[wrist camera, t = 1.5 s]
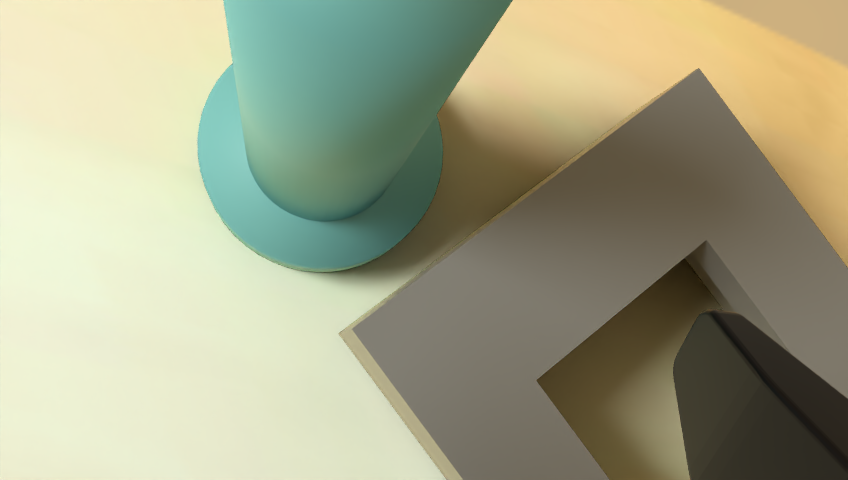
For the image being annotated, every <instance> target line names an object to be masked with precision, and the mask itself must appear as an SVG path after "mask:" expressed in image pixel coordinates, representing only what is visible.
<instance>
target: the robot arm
mask: <svg viewBox="0 0 848 480" xmlns="http://www.w3.org/2000/svg"><path fill="white" fill-rule="evenodd" d="M673 376H674V383H675V389H676V396H677V402H678V408H679V414H680V420H681V426H682V433H683V439H684V445H685V451H686V457H687V463H688V470H689V475H690V480H848V398H846V397H845V396H844V395H843V394H841V393H840V392H839V391H838V390H836V389H835V388H834V387H833V386H831V385H830V384H829V383H827V382H826V381H825V380H824V379H822V378H821V377H820V376H819V375H817V374H816V373H815V372H814V371H812V370H811V369H810V368H808V367H807V366H806V365H805V364H803V363H802V362H801V361H800V360H798V359H797V358H796V357H795V356H793V355H792V354H791V353H789V352H788V351H787V350H786V349H784V348H783V347H782V346H781V345H779V344H778V343H777V342H776V341H774V340H773V339H772V338H770V337H769V336H768V335H767V334H765V333H764V332H763V331H762V330H760V329H759V328H758V327H757V326H755V325H754V324H753V323H751V322H750V321H749V320H748V319H746V318H745V317H744V316H742V315H741V314H739V313H736V312H731V311H724V310H716V309H707V310H704V311H703V312H702V313H700V314H699V316H698V317H697V319H696V321H695V323H694V324H693V326H692V328H691V330H690V332H689V333H688V335H687V337H686V339H685V341H684V343H683V344H682V346H681V348H680V350H679V352H678V353H677V356H676V358H675V362H674V367H673Z"/></svg>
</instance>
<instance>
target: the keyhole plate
mask: <svg viewBox="0 0 848 480" xmlns="http://www.w3.org/2000/svg"><path fill="white" fill-rule="evenodd" d="M684 258H685V259H686V260H687V262H688V263H689V264H690V266H691V267H692V268H693V270H694V271H695V272H696V274H697V275H698V276H699V278H700V279H701V280H702V282H703V283H704V284H705V286H706V287H707V288H708V290H709V291H710V292H711V294H712V295H713V297H714V298H715V299H716V301H717V302H718V303H719V305H720V306H721V307H722V309H723V310H724V311H731V312H736V313H739V314H741V315H742V316H744V317H745V318H746V319H748V320H749V321H750V322H751V323H753V324H754V325H755V326H757V327H758V328H759V329H760V330H762V331H763V332H764V333H765V334H767V335H768V336H769V337H770V338H772V339H773V340H774V341H776V342H777V343H778V344H779V345H781V346H782V347H783V348H784V349H786V350H787V351H788V352H789V353H791V354H792V355H793V356H795V357H796V358H797V359H798V360H800V361H801V362H802V363H803V364H805V365H806V366H807V367H808V368H810V369H811V370H812V371H814V372H815V373H816V374H817V375H819V376H820V377H821V378H822V379H824V380H825V381H826V382H827V383H829V384H830V385H831V386H833V387H834V388H835V389H836V390H838V391H839V392H840V393H841V394H843V395H844V396H845V397H846V398H848V268H847V266H846V265H845V264H844V262H843V261H842V260H841V258H840V257H839V256H838V254H837V253H836V252H835V250H834V249H833V248H832V246H831V245H830V243H829V242H828V241H827V239H826V238H825V237H824V235H823V234H822V233H821V231H820V230H819V229H818V227H817V226H816V225H815V223H814V222H813V221H812V219H811V218H810V217H809V215H808V214H807V213H806V211H805V210H804V209H803V207H802V206H801V205H800V203H799V202H798V201H797V199H796V198H795V196H794V195H793V194H792V192H791V191H790V190H789V188H788V187H787V186H786V184H785V183H784V182H783V180H782V179H781V178H780V176H779V175H778V174H777V172H776V171H775V170H774V168H773V167H772V166H771V164H770V163H769V162H768V160H767V159H766V158H765V156H764V155H763V154H762V152H761V151H760V149H759V148H758V147H757V145H756V144H755V143H754V141H753V140H752V139H751V137H750V136H749V135H748V133H747V132H746V131H745V129H744V128H743V127H742V125H741V124H740V123H739V121H738V120H737V119H736V117H735V116H734V115H733V113H732V112H731V111H730V109H729V108H728V107H727V105H726V104H725V102H724V101H723V100H722V98H721V97H720V96H719V94H718V93H717V92H716V90H715V89H714V88H713V86H712V85H711V84H710V82H709V81H708V80H707V78H706V77H705V76H704V74H703V73H702V72H701V70H700V69H699V68H698V69H696V70H695V71H694V72H692V73H691V74H689V75H688V76H686V77H685V78H683V79H682V80H680V81H679V82H677V83H676V84H674V85H673V86H671V87H670V88H669V89H667V90H666V91H664V92H663V93H661V94H660V95H658V96H657V97H655V98H654V99H652V100H651V101H649V102H648V103H646V104H645V105H643V106H642V107H641V108H639V109H638V110H636V111H635V112H633V113H632V114H631V115H629V116H628V117H627V118H625V119H624V120H623V121H621V122H620V123H619V124H617V125H616V126H615V127H613V128H612V129H611V130H609V131H608V132H607V133H605V134H604V135H603V136H601V137H600V138H599V139H597V140H596V141H595V142H593V143H592V144H591V145H589V146H588V147H587V148H585V149H584V150H583V151H581V152H580V153H579V154H577V155H576V156H575V157H573V158H572V159H571V160H569V161H568V162H567V163H565V164H564V165H563V166H561V167H560V168H559V169H557V170H556V171H555V172H553V173H552V174H551V175H549V176H548V177H547V178H545V179H544V180H543V181H541V182H540V183H539V184H537V185H536V186H535V187H533V188H532V189H531V190H529V191H528V192H527V193H525V194H524V195H523V196H521V197H520V198H519V199H517V200H516V201H515V202H513V203H512V204H511V205H509V206H508V207H507V208H505V209H504V210H503V211H501V212H500V213H499V214H497V215H496V216H495V217H493V218H492V219H491V220H489V221H488V222H487V223H485V224H484V225H483V226H481V227H480V228H479V229H477V230H476V231H475V232H473V233H472V234H471V235H469V236H468V237H467V238H465V239H464V240H463V241H461V242H460V243H459V244H457V245H456V246H455V247H453V248H452V249H451V250H449V251H448V252H447V253H445V254H444V255H443V256H441V257H440V258H439V259H437V260H436V261H435V262H433V263H432V264H430V265H429V266H428V267H426V268H425V269H424V270H422V271H421V272H420V273H418V274H417V275H416V276H414V277H413V278H412V279H410V280H409V281H408V282H406V283H405V284H404V285H402V286H401V287H400V288H398V289H397V290H396V291H394V292H393V293H392V294H390V295H389V296H388V297H386V298H385V299H384V300H382V301H381V302H380V303H378V304H377V305H376V306H374V307H373V308H372V309H370V310H369V311H368V312H366V313H365V314H364V315H362V316H361V317H360V318H358V319H357V320H356V321H354V322H353V323H352V324H350V325H349V326H348V327H346V328H345V329H344V330H342V331H341V332H340V333H339V335H340V336H341V337H342V339H343V340H344V342H345V343H346V344H347V346H348V347H349V348H350V350H351V351H352V352H353V354H354V355H355V356H356V358H357V359H358V360H359V362H360V363H361V365H362V366H363V367H364V369H365V370H366V371H367V373H368V374H369V375H370V377H371V378H372V379H373V381H374V382H375V383H376V385H377V386H378V388H379V389H380V390H381V392H382V393H383V394H384V396H385V397H386V398H387V400H388V401H389V402H390V404H391V405H392V406H393V408H394V409H395V410H396V412H397V413H398V415H399V416H400V417H401V419H402V420H403V421H404V423H405V424H406V425H407V427H408V428H409V429H410V431H411V432H412V433H413V435H414V436H415V438H416V439H417V440H418V442H419V443H420V444H421V446H422V447H423V448H424V450H425V451H426V452H427V454H428V455H429V456H430V458H431V459H432V461H433V462H434V463H435V465H436V466H437V467H438V469H439V470H440V471H441V473H442V474H443V475H444V477H445V478H446V479H447V480H610V479H609V478H608V477H607V475H606V474H605V473H604V471H603V470H602V469H601V467H600V466H599V464H598V463H597V462H596V460H595V459H594V458H593V456H592V455H591V454H590V452H589V451H588V450H587V448H586V447H585V446H584V444H583V443H582V442H581V440H580V439H579V438H578V436H577V435H576V433H575V432H574V431H573V429H572V428H571V427H570V425H569V424H568V423H567V421H566V420H565V419H564V417H563V416H562V415H561V413H560V412H559V411H558V409H557V408H556V406H555V405H554V404H553V402H552V401H551V400H550V398H549V397H548V396H547V394H546V393H545V392H544V390H543V389H542V388H541V386H540V385H539V384H538V382H537V381H536V380H537V379H538V378H540V377H541V376H542V375H543V374H544V373H546V372H547V371H548V370H549V369H550V368H552V367H553V366H554V365H555V364H556V363H558V362H559V361H560V360H561V359H563V358H564V357H565V356H566V355H567V354H569V353H570V352H571V351H572V350H573V349H575V348H576V347H577V346H578V345H580V344H581V343H582V342H583V341H584V340H586V339H587V338H588V337H589V336H590V335H592V334H593V333H594V332H595V331H596V330H598V329H599V328H600V327H601V326H603V325H604V324H605V323H606V322H607V321H609V320H610V319H611V318H612V317H613V316H615V315H616V314H617V313H618V312H620V311H621V310H622V309H623V308H624V307H626V306H627V305H628V304H629V303H630V302H632V301H633V300H634V299H635V298H636V297H638V296H639V295H640V294H641V293H643V292H644V291H645V290H646V289H647V288H649V287H650V286H651V285H652V284H653V283H655V282H656V281H657V280H658V279H660V278H661V277H662V276H663V275H664V274H666V273H667V272H668V271H669V270H670V269H672V268H673V267H674V266H675V265H676V264H678V263H679V262H680V261H681V260H683V259H684Z"/></svg>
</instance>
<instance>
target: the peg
mask: <svg viewBox="0 0 848 480" xmlns="http://www.w3.org/2000/svg"><path fill="white" fill-rule="evenodd" d="M223 1H224V8H225V14H226V21H227V28H228V34H229V41H230V48H231V55H232V61H233V63H232V64H231V65H230V66H229V67H228V68H227V69H226V71H225V72H224V73H223V74H222V76H221V77H220V78H219V79H218V81H217V82H216V84H215V86H214V87H213V89H212V91H211V92H210V94H209V97H208V99H207V101H206V104H205V106H204V108H203V112H202V116H201V120H200V124H199V132H198V159H199V165H200V172H201V175H202V178H203V181H204V185H205V188H206V190H207V192H208V195H209V197H210V199H211V201H212V203H213V206H214V208H215V210H216V212H217V213H218V215H219V216H220V218H221V219H222V221H223V223H224V224H225V225H226V226H227V227H228V229H229V230H230V231H231V232H232V233H233V235H234V236H235V237H237V238H238V239H239V240H240V241H241V242H242V243H243V244H244V245H245V246H247V247H248V248H250V249H251V250H252V251H254V252H255V253H257V254H258V255H260V256H262V257H264V258H266V259H268V260H270V261H272V262H274V263H277V264H279V265H282V266H285V267H288V268H292V269H297V270H302V271H311V272H334V271H340V270H345V269H350V268H353V267H357V266H360V265H363V264H365V263H368V262H370V261H372V260H374V259H376V258H378V257H380V256H381V255H383V254H384V253H386V252H387V251H389V250H390V249H392V248H393V247H394V246H395V245H396V244H398V243H399V242H400V241H401V240H402V239H403V238H404V237H405V236H407V235H408V234H409V233H410V231H411V230H412V229H413V228H414V227H415V226H416V225H417V224H418V223H419V221H420V220H421V218H422V217H423V215H424V214H425V212H426V211H427V209H428V207H429V205H430V203H431V201H432V199H433V197H434V195H435V192H436V189H437V186H438V183H439V179H440V174H441V170H442V159H443V145H442V135H441V130H440V125H439V121H438V118H437V115H436V114H437V113H438V111H439V110H440V108H441V107H442V105H443V104H444V102H445V101H446V99H447V98H448V96H449V95H450V93H451V92H452V90H453V89H454V87H455V86H456V84H457V83H458V81H459V80H460V78H461V77H462V75H463V74H464V72H465V71H466V69H467V68H468V66H469V65H470V63H471V62H472V60H473V59H474V57H475V56H476V54H477V53H478V51H479V50H480V48H481V47H482V45H483V44H484V42H485V41H486V39H487V38H488V36H489V35H490V33H491V32H492V30H493V29H494V27H495V26H496V24H497V23H498V21H499V20H500V18H501V17H502V15H503V14H504V12H505V11H506V9H507V8H508V6H509V5H510V3H511V2H512V0H223Z"/></svg>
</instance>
